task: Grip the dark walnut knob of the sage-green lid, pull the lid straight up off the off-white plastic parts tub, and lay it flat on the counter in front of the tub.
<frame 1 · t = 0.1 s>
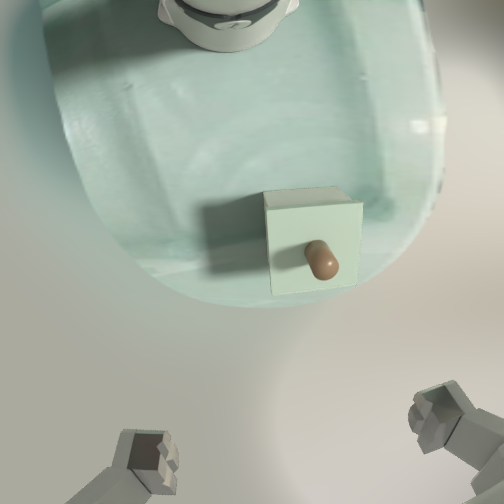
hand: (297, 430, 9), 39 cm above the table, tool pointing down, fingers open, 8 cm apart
lid: (312, 242, 42), point 7 cm above the table, touching tub
tub: (301, 223, 48), on the table
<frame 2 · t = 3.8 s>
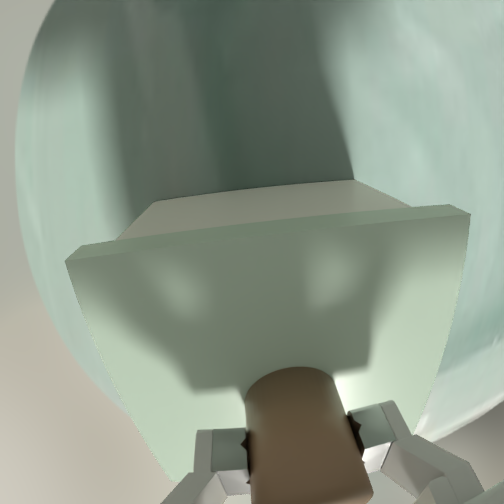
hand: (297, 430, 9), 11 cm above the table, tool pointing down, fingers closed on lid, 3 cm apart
lid: (282, 356, 12), point 7 cm above the table, touching gripper, tub
tub: (265, 281, 19), on the table
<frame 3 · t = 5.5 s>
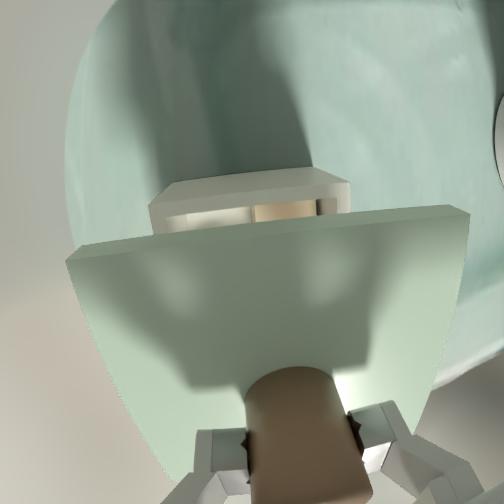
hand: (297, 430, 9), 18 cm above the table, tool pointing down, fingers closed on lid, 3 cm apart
lid: (282, 356, 12), point 15 cm above the table, touching gripper
tub: (250, 240, 26), on the table
birch block: (278, 215, 25), point 1 cm above the table, touching tub
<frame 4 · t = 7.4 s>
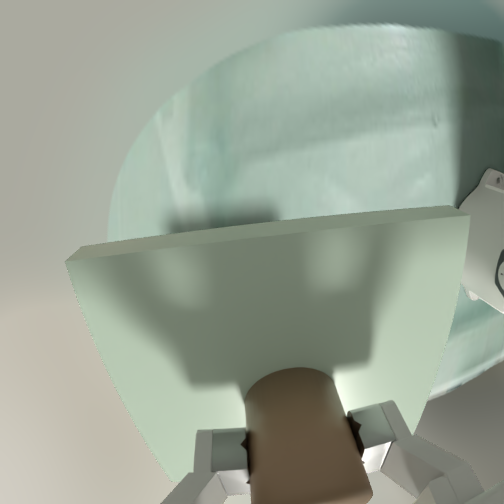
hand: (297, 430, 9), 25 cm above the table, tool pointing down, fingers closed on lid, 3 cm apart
lid: (282, 357, 12), point 21 cm above the table, touching gripper
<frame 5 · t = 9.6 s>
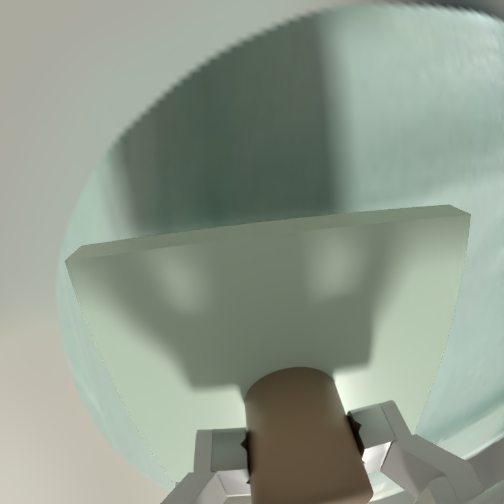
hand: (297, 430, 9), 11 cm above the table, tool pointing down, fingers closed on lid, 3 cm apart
lid: (282, 357, 12), point 7 cm above the table, touching gripper
when the fingers open (5 cm above the table, at t = 11.4 s): lid drops 1 cm, on the table.
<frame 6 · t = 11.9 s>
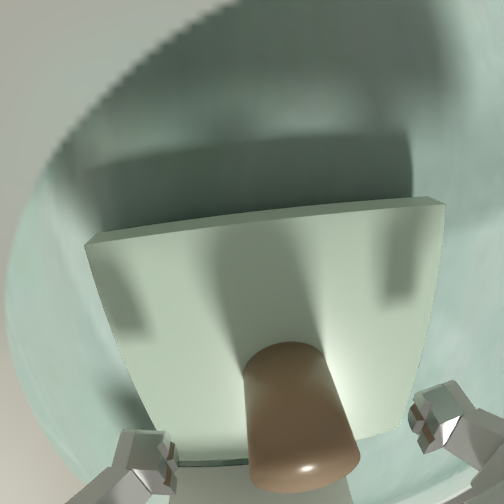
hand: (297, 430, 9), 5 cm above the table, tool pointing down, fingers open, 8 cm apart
lid: (277, 337, 14), on the table
tub: (261, 494, 19), on the table
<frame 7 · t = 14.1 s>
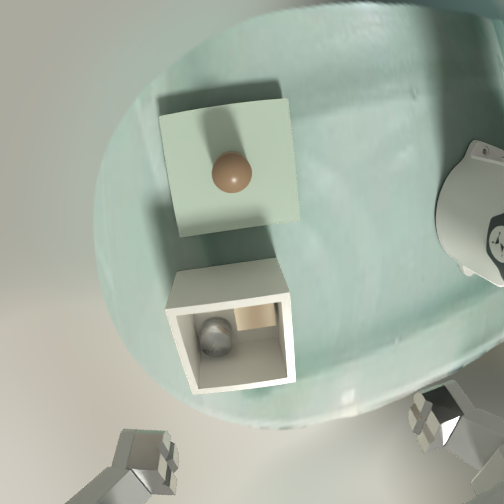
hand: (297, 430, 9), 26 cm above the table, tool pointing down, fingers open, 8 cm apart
lid: (231, 165, 31), on the table
tub: (233, 307, 37), on the table
metal ball: (216, 329, 37), point 1 cm above the table, touching tub
birch block: (251, 293, 35), point 1 cm above the table, touching tub
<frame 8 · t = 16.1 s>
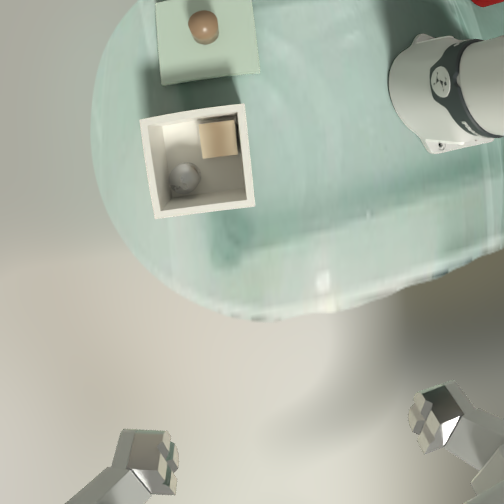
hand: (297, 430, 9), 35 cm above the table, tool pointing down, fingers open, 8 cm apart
lid: (207, 38, 34), on the table
tub: (203, 156, 39), on the table
metal ball: (186, 176, 39), point 1 cm above the table, touching tub
birch block: (219, 138, 38), point 1 cm above the table, touching tub
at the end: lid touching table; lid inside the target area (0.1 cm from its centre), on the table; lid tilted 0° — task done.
